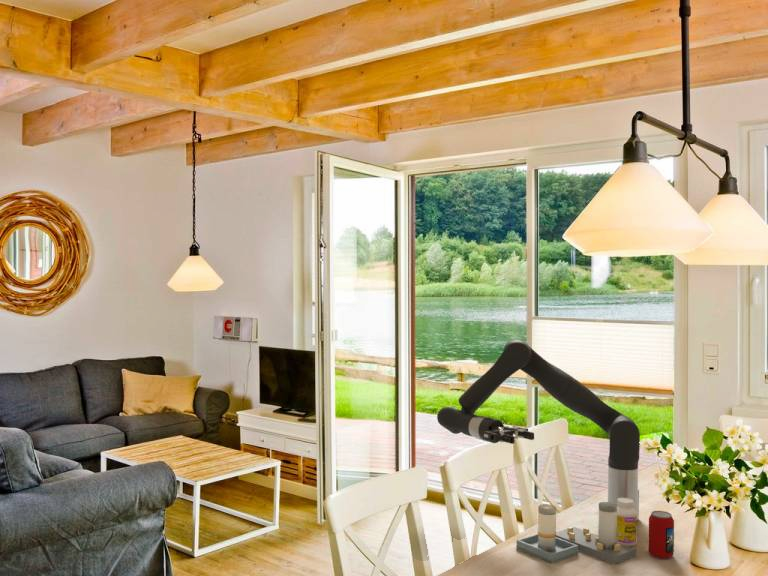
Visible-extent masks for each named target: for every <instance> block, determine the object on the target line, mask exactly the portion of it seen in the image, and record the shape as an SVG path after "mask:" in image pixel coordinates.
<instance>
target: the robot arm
mask: <svg viewBox="0 0 768 576" xmlns="http://www.w3.org/2000/svg"><path fill="white" fill-rule="evenodd" d="M519 370H520V371H522V372H523V373H525V374H527V375H528V376H530V377H531V378H533V379H534V381H536V382H537V383H538V384H539V385H540V386H541V387H542V388H543V390H545V391H546V392H547V393H548V394H549V395H550V396H551V397H553V399H555V400H557V401H558V402H559V403H560V404H562V405H563V406H564V407H566V408H568V409H569V410H570V411H572V412H574V413H576V414H578V415H579V416H582V417H585V418H586V419H588V420H590V421H591V422H593V423H594V424H596V425H597V426H598V427H599V428H601V430H603V431H604V432H605V433H606V434H607V435H608V436H609V451H608V452H609V454H608V458H607V463H608V464H607V502H611V503H614V504H616V505H617V506H618V504H617V499H618V498H629V499H632V500H633V501H634V505H633V508H634V509H635V510H636V512H637V520H639V519H640V489H639V485H638V484H639V460H640V446H641V433H640V429H639V427H638V425H637V423H636V422H635V421H634V420H633V419H632V418H631V417H629V416H627V415H625V414H624V413H621V412H620V411H619V410H616V409H615V408H613V407H611V406H610V405H608V404H606V403H605V402H604V401H603V400H601V398H599V397H598V396H597V395H596V393H594V392H593V391H591V390H590V389H589V388H588V387H586V385H584V384H583V383H581V382H580V381H579V380H577V379H576V378H575V377H573V376H572V375H570V374H569V373H568V372H565V371H564V370H563V369H561V368H559V367H557V366H555V365H554V364H552V363H550V362H549V361H547V360H546V359H545V358H543V357H542V356H541V355H540V354H539V353H537V352H536V351H535V350H534V349H533V348H532V347H531V346H529V345H528V343H526V342H525V341H524V340H521V339H512V340H509V341H508V342H507V343H506V344H505V345H504V347H503V350H502V352H501V354H500V356H499V357H498V359H496V361H495V363H494V364H493V365H492V366H491V367H490V368H489V369H488V370H487V371H486V372H485V373H483V374H482V375H481V376H480V377H479V378H478V379H476V381H474V382H473V383H472V384H471V385H470V386H469V387H468V388H467V389H466V390H465V391H464V393H463V394H461V395H460V396H459V398H458V403H459V405H460V407H461V408H460V409H458V408H455V407H453V406H445V407H442V408H441V409H440V410H439V411H438V412H437V414H436V415H437V416H436V419H437V422H438V424H439V425H440V426H441V427H442V428H444V429H445V430H447V431H448V432H450V433H452V434H453V435H457V434H460V433H462V434H463V435H465V436H469V437H471V438H475V439H477V440H480V441H485V442H487V443H488V442H489V443H491V444H498V443H499V442H500V443H508V444H511V445H513V444H515V443H516V440H517V439H527V440H530V441H534V440H535V433H534V432H532V431H529V429H528V428H526V427H523V426H522V427H521V426H517V425H513V426H509V425H504V424H503V422H502V421H501V420H500V419H498V418H493V417H488V416H484V415H477V414H475V413H476V411H477V410H478V409H479V408H481V406H482V405H484V403H485V402H486V401H487V400H489V398H490V397H491V396H492V395H493V394H494V393H495V391H496V390H497V389H499V387H500V386H501V385H502V384H503V383H504V382H505V381H506V380H508V379H509V378H510V377H511V376H512V375H514V374H515V373H517V372H518V371H519ZM514 435H515V436H514ZM639 442H640V443H639Z"/></svg>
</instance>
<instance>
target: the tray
mask: <svg viewBox="0 0 768 576" xmlns="http://www.w3.org/2000/svg"><path fill="white" fill-rule="evenodd" d="M516 548H517V550H519V549H520V550H519V551H521V550H522V551H521V552H523V551H525V552H524V553H526V552H527V553H526V554H528V553H529V554H528V555H531V556H533V557H535V558H539V559H541V560H542V561H545V562H548V563H549V564H554V563H558V562H560V561H563V560H565V559H569V558H572V557H575V556H577V555H579V550H578V545H575V544H573V543H570V542H568V541H565V540H562V539H560V538H557V537H556V550H555V551H553V552H547V551H545V550H542V549H540V548H538V533H535V534H531V535H528V536H525V537H521V538H519V539H516ZM516 548H515V549H516Z"/></svg>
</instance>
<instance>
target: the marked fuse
mask: <svg viewBox="0 0 768 576" xmlns="http://www.w3.org/2000/svg"><path fill="white" fill-rule="evenodd" d="M537 507H538V509H537V514H538V515H537V534H538V548H540V549H542V550H545V551H547V552H553V551H555V550H556V532H557V507H556V506H555V505H553V504H548V503H544V504H540V505H538V506H537Z"/></svg>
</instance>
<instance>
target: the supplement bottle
mask: <svg viewBox="0 0 768 576" xmlns="http://www.w3.org/2000/svg"><path fill="white" fill-rule="evenodd" d="M617 504H618V506H617V539H618V543H621V544H624V545H626V546H629V547H633V546H635V545H636V544H637V534H638V533H637V531H638V530H637V525H638V523H637V522H638V519H637V512H636V510H635V509H634V508H633V505H634V501H633V500H632V499H629V498H618V499H617Z"/></svg>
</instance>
